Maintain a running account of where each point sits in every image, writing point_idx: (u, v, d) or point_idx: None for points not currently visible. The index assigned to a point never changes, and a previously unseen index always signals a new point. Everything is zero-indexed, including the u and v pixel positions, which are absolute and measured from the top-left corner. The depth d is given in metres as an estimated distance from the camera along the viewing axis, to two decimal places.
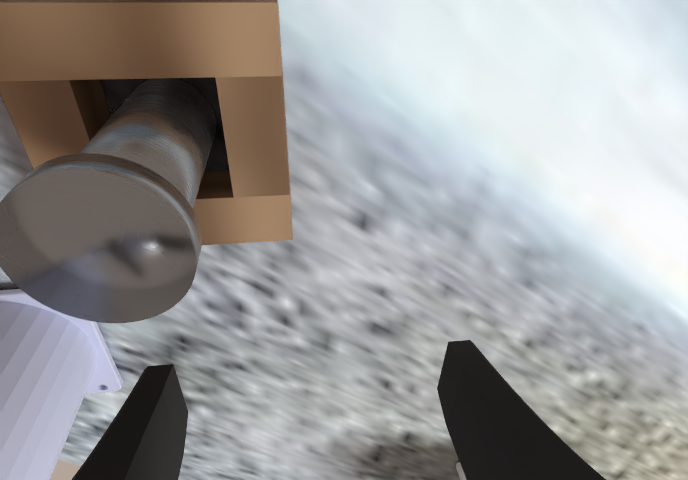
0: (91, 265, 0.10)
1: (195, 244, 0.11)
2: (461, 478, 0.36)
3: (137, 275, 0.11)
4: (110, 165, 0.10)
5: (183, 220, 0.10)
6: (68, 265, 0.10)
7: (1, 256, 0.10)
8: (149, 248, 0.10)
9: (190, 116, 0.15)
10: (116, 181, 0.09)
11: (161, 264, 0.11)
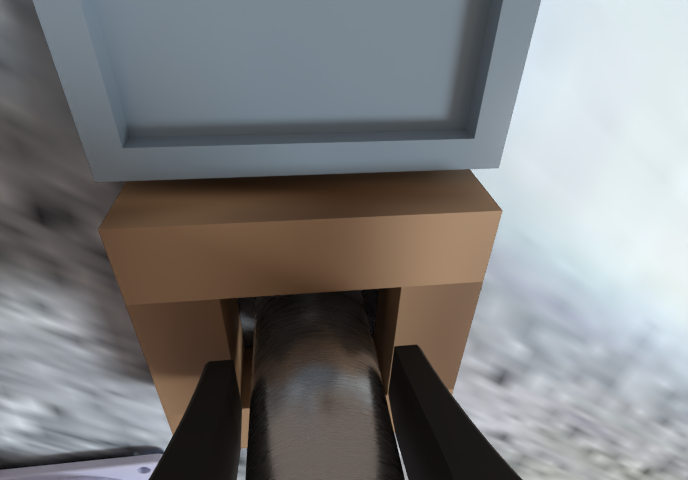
0: None
1: None
2: None
3: None
4: None
5: None
6: None
7: None
8: None
9: (362, 328, 0.12)
10: None
11: None
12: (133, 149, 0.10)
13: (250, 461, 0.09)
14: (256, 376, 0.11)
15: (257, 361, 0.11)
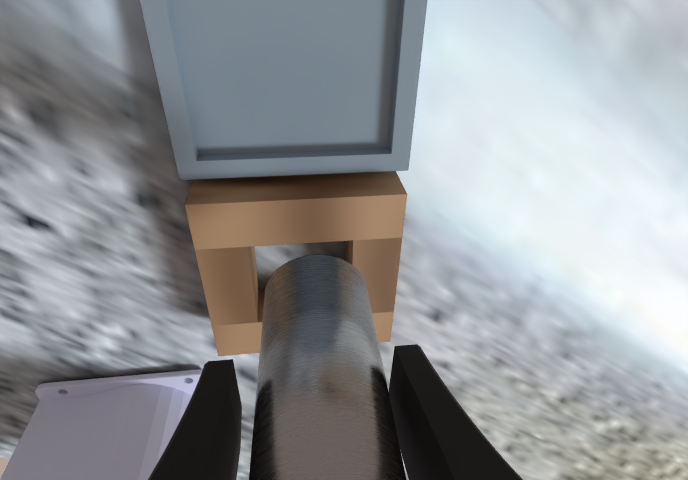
0: None
1: None
2: None
3: None
4: None
5: None
6: None
7: None
8: None
9: (368, 327, 0.12)
10: None
11: None
12: (202, 161, 0.18)
13: (255, 452, 0.09)
14: (263, 371, 0.11)
15: (264, 357, 0.11)
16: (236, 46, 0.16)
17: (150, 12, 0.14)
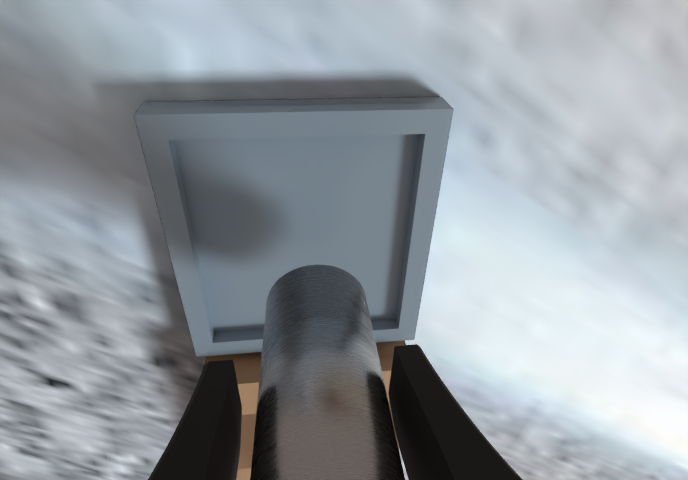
0: None
1: None
2: None
3: None
4: None
5: None
6: None
7: None
8: None
9: (367, 334, 0.12)
10: None
11: None
12: (218, 342, 0.18)
13: (256, 453, 0.10)
14: (264, 376, 0.11)
15: (265, 362, 0.12)
16: (253, 252, 0.17)
17: (173, 240, 0.15)
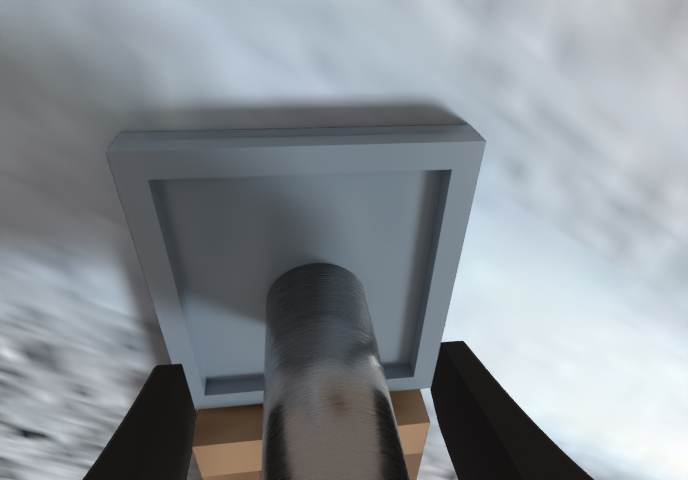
0: None
1: None
2: None
3: None
4: None
5: None
6: None
7: None
8: None
9: (368, 333, 0.12)
10: None
11: None
12: (210, 395, 0.16)
13: (266, 458, 0.10)
14: (269, 379, 0.11)
15: (270, 365, 0.12)
16: (250, 298, 0.15)
17: (157, 289, 0.13)
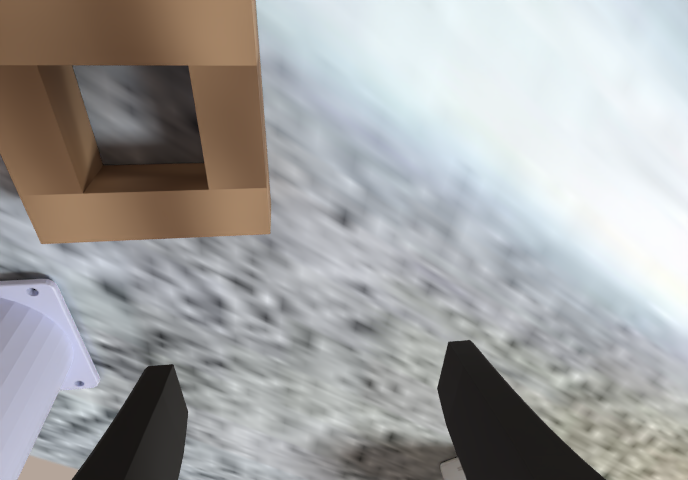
0: None
1: None
2: (445, 479, 0.36)
3: None
4: None
5: None
6: None
7: None
8: None
9: None
10: None
11: None
12: None
13: None
14: None
15: None
16: None
17: None
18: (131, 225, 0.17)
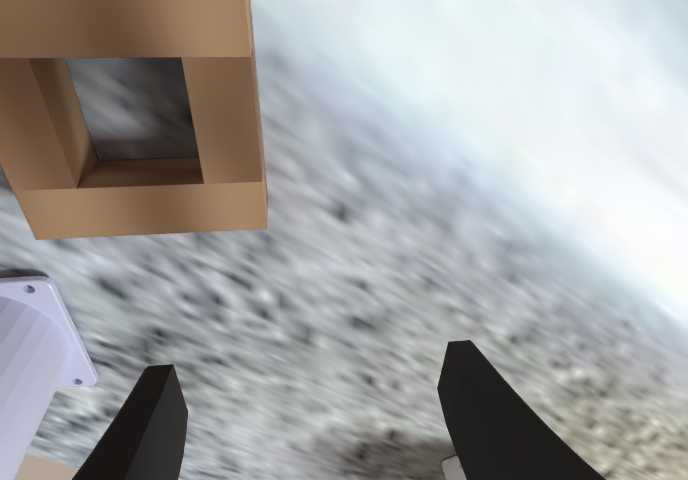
0: None
1: None
2: (446, 476, 0.35)
3: None
4: None
5: None
6: None
7: None
8: None
9: None
10: None
11: None
12: None
13: None
14: None
15: None
16: None
17: None
18: (126, 220, 0.17)
